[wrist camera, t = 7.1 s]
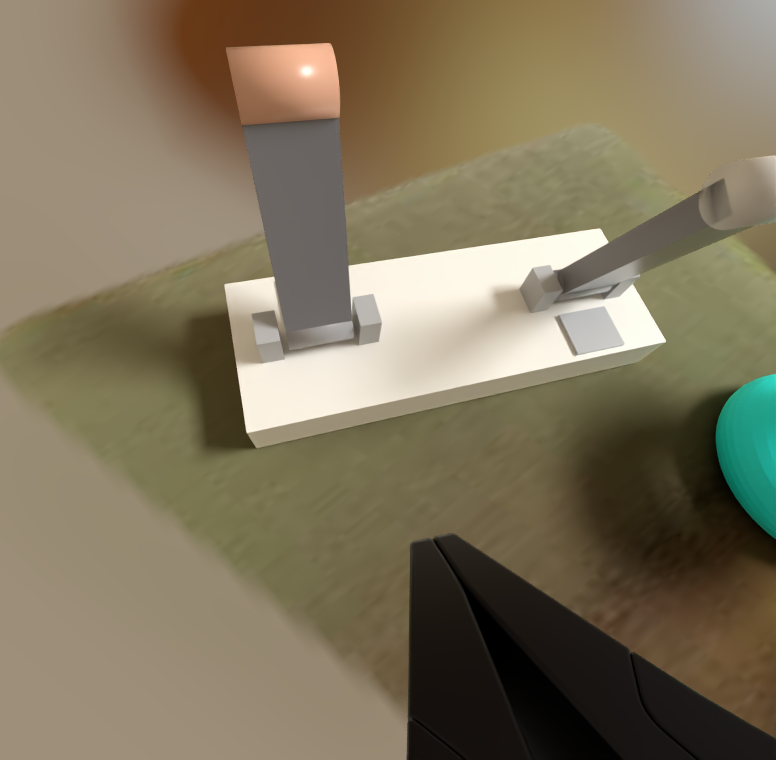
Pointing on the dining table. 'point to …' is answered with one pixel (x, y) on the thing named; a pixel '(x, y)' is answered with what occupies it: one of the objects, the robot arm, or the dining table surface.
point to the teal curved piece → (751, 449)
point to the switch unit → (433, 337)
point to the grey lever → (680, 228)
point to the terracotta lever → (298, 182)
